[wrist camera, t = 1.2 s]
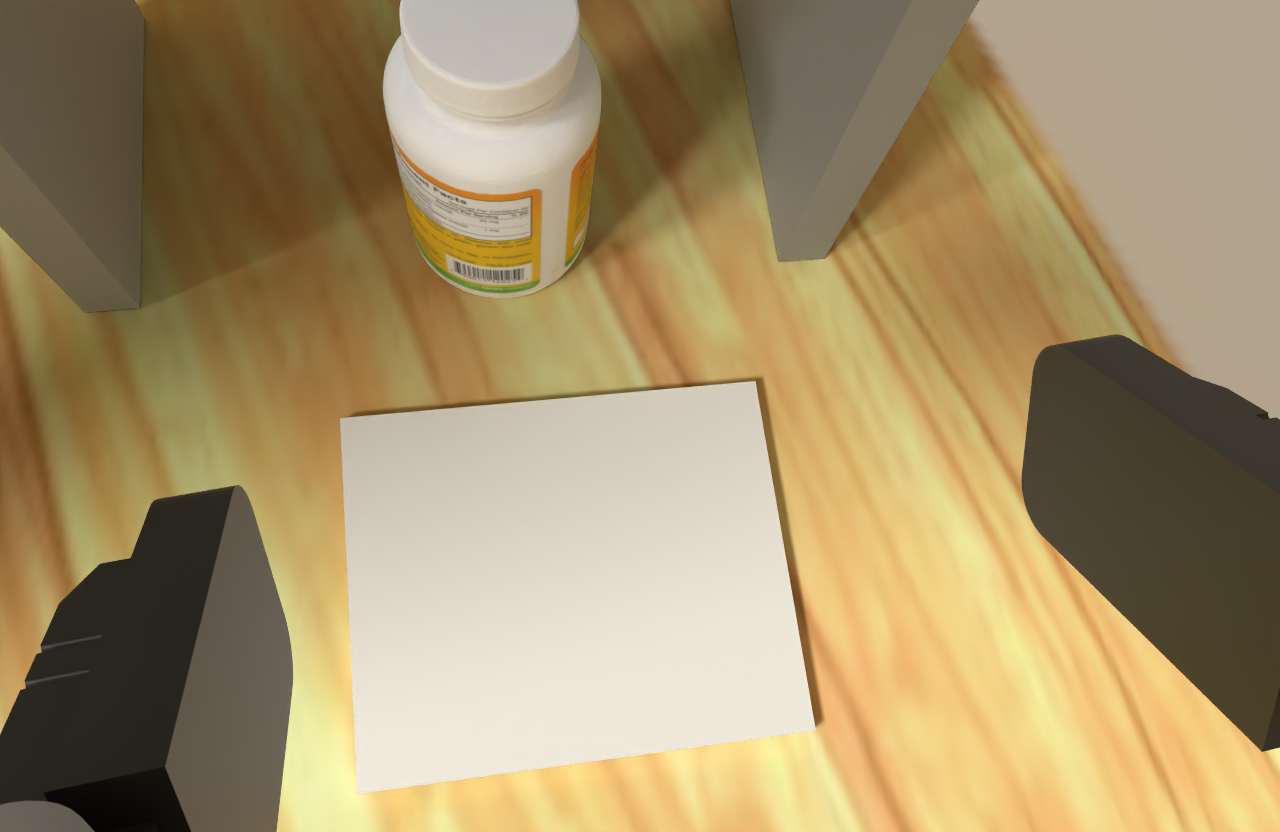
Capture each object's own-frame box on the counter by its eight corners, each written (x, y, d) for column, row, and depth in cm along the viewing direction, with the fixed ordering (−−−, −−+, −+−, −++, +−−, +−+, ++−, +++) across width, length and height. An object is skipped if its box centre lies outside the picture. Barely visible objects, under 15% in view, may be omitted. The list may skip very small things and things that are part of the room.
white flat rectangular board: (359, 793, 27) (357, 793, 26) (342, 422, 30) (339, 418, 29) (811, 730, 28) (815, 730, 28) (752, 385, 31) (755, 380, 31)
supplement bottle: (522, 118, 33) (521, -125, 24) (622, 244, 32) (660, 41, 23) (376, 201, 32) (316, -24, 23) (476, 336, 31) (455, 157, 22)
